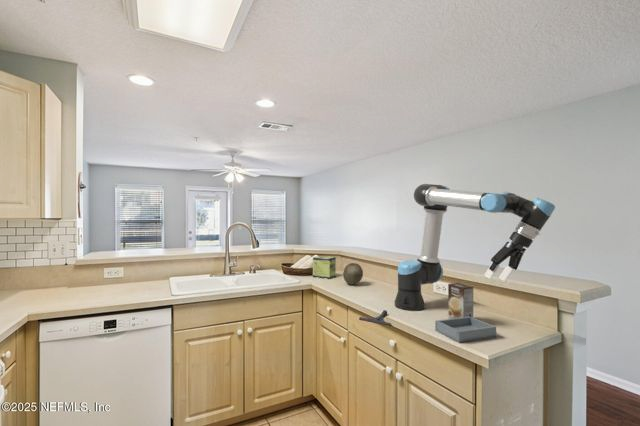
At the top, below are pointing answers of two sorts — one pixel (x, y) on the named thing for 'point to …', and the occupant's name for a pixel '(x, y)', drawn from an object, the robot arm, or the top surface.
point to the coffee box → (460, 301)
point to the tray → (465, 329)
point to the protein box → (324, 267)
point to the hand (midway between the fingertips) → (494, 278)
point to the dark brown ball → (353, 273)
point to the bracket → (377, 319)
